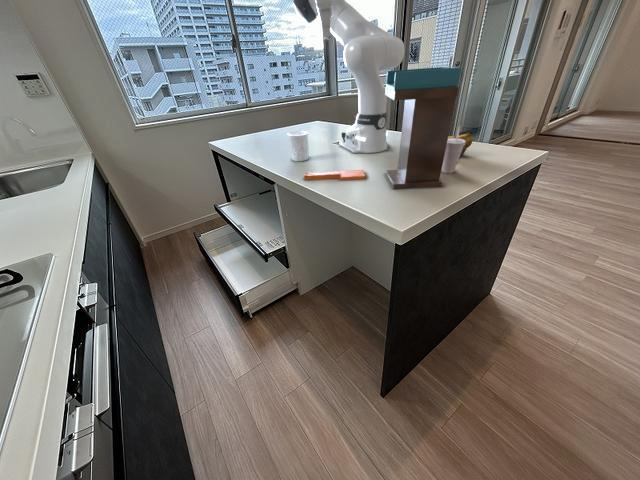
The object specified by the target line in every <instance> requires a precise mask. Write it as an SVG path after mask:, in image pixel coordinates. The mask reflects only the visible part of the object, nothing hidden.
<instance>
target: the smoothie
mask: <svg viewBox="0 0 640 480" xmlns="http://www.w3.org/2000/svg"><path fill="white" fill-rule="evenodd" d="M461 126H462V125H458V127H457V132H456V135H455V136H456V138H449V139H448V141H447V146H446V150H445V155H444V160H443V165H442V170H441V173H445V174H452V173H454V172H455V170H456V167H457V165H458V163H459V160H460V157H461V156H460V154H461V151H462V149H463V146H464V145H465V142H466V141H465V140H463V139H458V136H460V132H461Z"/></svg>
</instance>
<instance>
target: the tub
mask: <svg viewBox="0 0 640 480" xmlns="http://www.w3.org/2000/svg"><path fill="white" fill-rule="evenodd" d="M461 70H462V67H455V66H454V67H453V66H439V67H423V68H411V69H396V70H395V69H394V70H388V71H386V82H385V87H387V88H389V89H391V90H394V91H400V90H415V89H429V88H444V87H459V86H458V85H459V80H460V76H461Z"/></svg>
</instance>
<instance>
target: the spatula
mask: <svg viewBox="0 0 640 480" xmlns="http://www.w3.org/2000/svg"><path fill="white" fill-rule="evenodd" d="M332 179H333V180H334V179H335V180H336V179H340V181H348V180H349V181H351V180H353V181H354V180H366V173H365V171H364V169H353V170H352V169H351V170H337V171H336V170H335V171H319V172H305V173H304V181H314V180H332Z"/></svg>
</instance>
